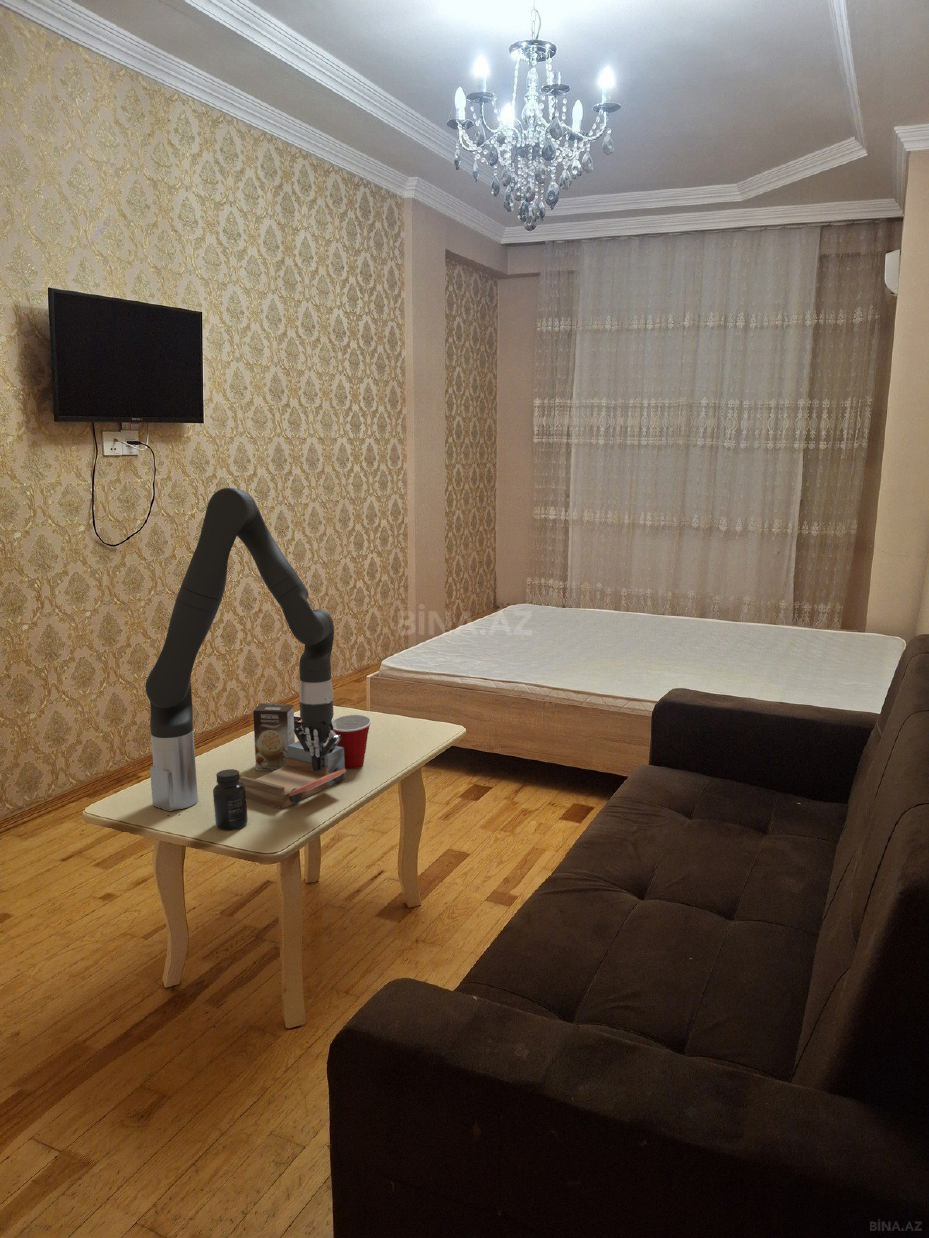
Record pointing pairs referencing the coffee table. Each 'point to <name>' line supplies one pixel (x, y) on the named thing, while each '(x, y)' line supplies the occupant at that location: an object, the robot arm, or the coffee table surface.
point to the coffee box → (273, 735)
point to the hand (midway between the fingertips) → (318, 770)
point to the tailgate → (317, 782)
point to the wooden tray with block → (293, 778)
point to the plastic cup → (352, 738)
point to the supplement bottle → (230, 801)
